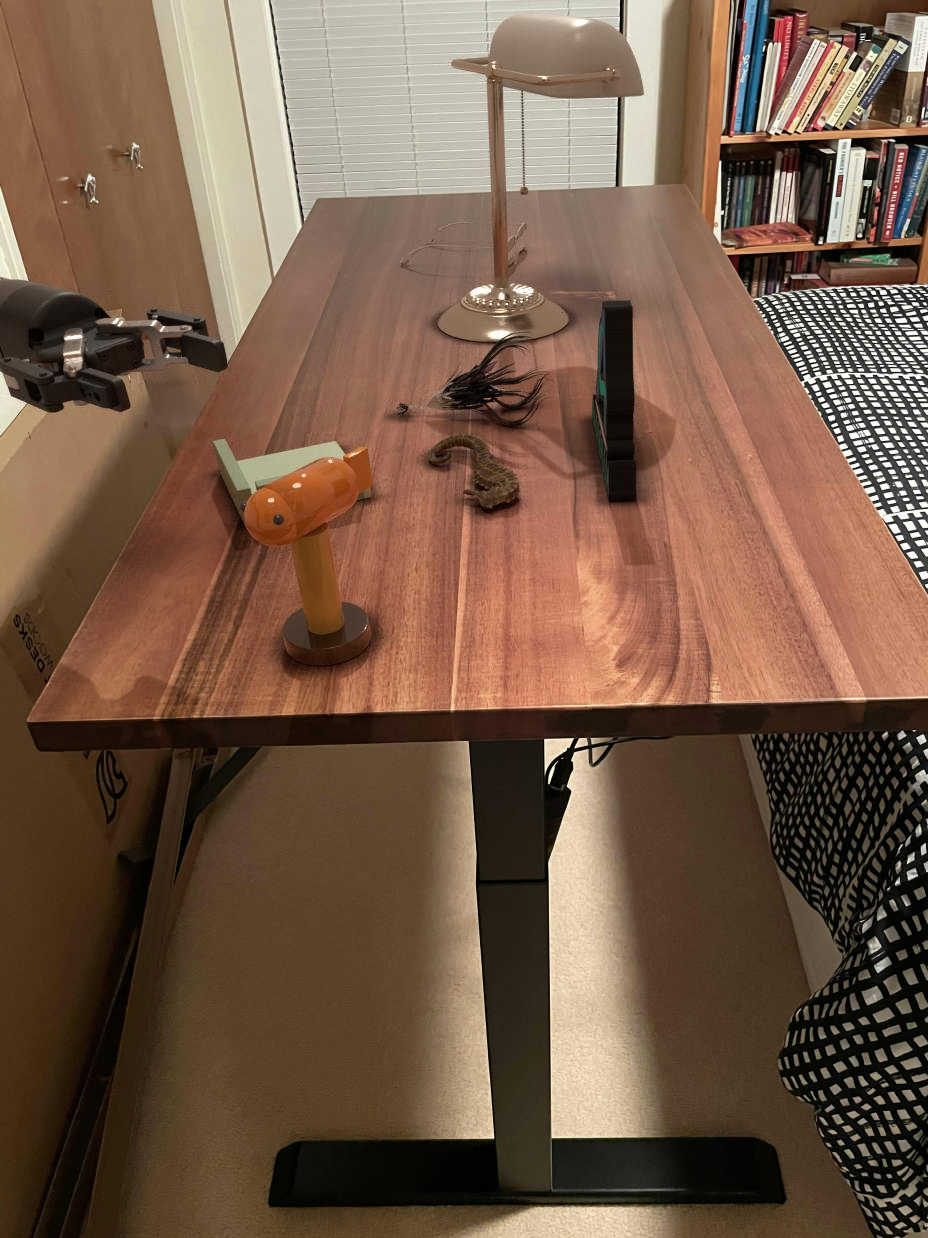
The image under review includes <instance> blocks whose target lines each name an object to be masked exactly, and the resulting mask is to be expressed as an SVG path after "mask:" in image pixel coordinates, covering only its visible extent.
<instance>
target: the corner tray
mask: <svg viewBox="0 0 928 1238" xmlns="http://www.w3.org/2000/svg"><path fill="white" fill-rule="evenodd" d="M212 444H213V448H214V449H213V450H214V452H215V457H216V461H217V466H218V469H219V474H220V476H221V478H222V480H223V482H224V484H225V487H226V489H227V491H228V494H229V495H230V497H231V499H232V501H233V504H234V506H235V508H236V510H237V512H238V514H239V516H240V519H241V521H242V523H243V525H244V526H245V523H244V512H242V511H241V510H240V508H239V506H240V504H241V503H242V502H247V501H248V499H249V498H250V496H251V495H252V494H253V493H254V492H256V491H257V490H259V489H261V488H263V487H265V486H267V485H268V484H270V483H272V482H274V481H276V480H278V479H280V478H282V477H284V476H286V475H288V474H290V473H292V472H294V471H296V470H298V469H300V468H302V467H304V466H305V465H307V464H309V463H311V462H313V461H315V460H318V459H320V458H324V457H334V458H339V459H341V460H343V456H344V455H346V454H347V453H345V452H344V451H343V449H342V448H341V446H340V445H339V444H338V442H337V441H336V440H334V441H328V442H323V443H318V444H314V445H309V446H304V447H299V448H294V449H290V450H285V451H280V452H274V453H269V454H265V455H264V454H263V455H260V456H255V457H250V458H245V459H240V460H237V459H236V457H235V455H234V453H233V451H232V450H231V448H230V445H229V443H228V442H227V439H226V438H221V439H216V440H212ZM371 488H372V487H370V488H368V489H366V490H365V491H363V492H361V493H359V494H358V497H357V500H356V501H360V500H365V499H370V498H372V489H371Z"/></svg>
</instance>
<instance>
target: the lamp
mask: <svg viewBox="0 0 928 1238" xmlns="http://www.w3.org/2000/svg"><path fill="white" fill-rule="evenodd" d="M493 33H494V34H493V35H492V39H491V41H490V48H489V52H488V53H489V54H488V55H486V56H476V57H475V56H474V57H463V58H455V59H452V60H451V62H450V64H451V67H452V68H453V69H455V70H456V69H457V70H460V71H466V72H470V73H475V74H478V75H479V74H480V75H485V77H486V96H487V97H486V99H487V100H486V101H487V126H488V127H487V128H488V152H489V154H488V155H489V176H490V177H489V178H490V199H491V200H490V201H491V223H492V224H491V226H492V247H493V248H492V249H493V250H492V252H493V253H492V254H493V275H494V276H493V278H494V284H493V283H488V284H486V285H480V286H475V287H474V288H473V289H470V290H469V291H468V292H467V294H466V295H464V296H463V297H462V298H461V299H460V301H457V302H455V303H454V304H452V305H451V306H449V307H448V308H447V309H445V311H444V312H443V313H442V314H441V315H440V316H439V317H438V319H437V320H436V321H437V324H436V325H437V327H438V329H439V330H440V331H441V332H443V333H444V334H446V335H447V336H450V337H453V338H456V339H461V340H465V341H469V342H478V343H479V342H480V343H481V342H482V343H497V342H498V341H499V340H500V339H502V338H503V337H504V336H506V335H508V334H511V333H514V332H519V331H528V333H517V334H513V335H510V336H508V337H506V338H505V339H507V338H510V337H513V336H528V337H531V338H528V337H524V338H517V339H512V340H509V341H513V340H514V341H522V342H524V340H525V341H528V340H529V341H531V340H534V339H535V340H536V339H539V338H542V337H547V336H550V335H553V334H555V333H556V332H559V331H561V330H562V329H564V328H565V327H566V326H567V325H568V323H569V322H570V316H569V314H568V313H567V312H566V310H565V309H564V308H563V307H561V305H559V304H558V305H557V303H556V302H555V301H553V300H551V299H550V298H547V297H544V295H543V294H542V293H540V292H539V291H538V290H536V289H535V288H534V287H532V286H530V285H527V284H525V285H524V284H523V283H516V282H511V283H510V271H509V267H510V265H508V239H509V237H508V236H509V235H508V225H507V224H508V209H507V208H508V205H507V175H506V173H507V171H506V170H507V169H506V141H505V140H506V139H505V113H504V111H505V109H504V107H505V105H504V88H508V89H511V90H516V91H520V92H521V93H520V95H521V96H520V101H521V103H520V104H521V106H520V107H521V109H520V111H521V112H520V113H521V116H520V117H521V119H520V120H521V151H522V152H521V154H522V155H521V156H522V157H521V158H522V161H521V162H522V165H521V166H522V186H521V187H520V189H519V193H520V195H522V196H527V195H528V194H529V188H528V187H527V186H526V178H525V177H526V166H525V165H526V163H525V162H526V161H525V159H526V157H525V156H526V155H525V130H524V129H525V124H524V123H525V113H524V110H525V109H524V104H525V103H524V92H525V93H529V94H535V95H540V96H543V97H547V98H554V99H567V100H568V99H571V100H572V99H575V100H576V99H577V100H578V99H579V100H580V99H581V100H583V99H607V98H608V99H609V98H632V97H633V98H634V97H642V96H644V95H645V89H644V83H643V78H642V75H641V69H640V68H639V64H638V62H637V58H636V56H635V55H634V52H633V50H632V47H631V45H630V44H629V41H628V40H627V39H626V38H625V36H624V35H623V34H622V33H621V32H620V31H619V30H618V29H617V28H615V26H613V25H611V24H609V23H607V22H604V21H602V20H598V19H595V18H591V17H583V16H574V15H573V16H572V15H564V14H563V15H562V14H561V15H560V14H551V13H541V12H540V13H539V12H538V13H537V12H525V13H524V12H523V13H519V14H515V15H512V16H509V17H507V18H506V19H504V20H502V21H501V23H500V24H499V25H498V27H497V28H496V30H495V32H493ZM562 312H563V313H562ZM532 332H533V333H532ZM530 333H531V334H532V335H533V336H532V335H531V334H530ZM534 333H535V334H534ZM525 338H527V339H525ZM532 338H533V339H532ZM505 339H504V340H505ZM502 341H503V340H502ZM502 341H501V342H502ZM509 341H508V342H509Z"/></svg>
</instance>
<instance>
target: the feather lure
mask: <svg viewBox="0 0 928 1238" xmlns="http://www.w3.org/2000/svg"><path fill="white" fill-rule="evenodd" d="M517 333H528V331H519V332H514V333H511V334H508V335H506V336H504V337H503V338H502V339H500V340H499V341H498V342H495V344H493V346H492V347H491V348H490V350H489V351H488V352H487V354H485V356H484V357H483V359H482V360H481V361H480V363H479V364H475V365H474V366H473V367H472V368H471V369H470V370H469V371H467V372H464V373H462V372H463V371H464V369H462V370H460V371H459V370H458V368H456V369H455V370H454V372H453V373H452V374H451V376H450V377H449V378H448V379H447V381H446V382H445V383H444V384H443V385H442V386H440V388H439V389H438V390H437V391H435V393H434V394H433V395H432V396H431V397H430V399H429V400H428V401H427V403H426V404H425V406H420V410H422V409H427V408H431V409H433V410H439V411H451V412H453V411H472V412H473V413H478V414H481V415H483V413H487V412H490V413H491V414H492V415H493V417H494V418H495V419H496V420H497V421H498V422H500V423H501V424H503V425H505V426H507V427H512V428H513V427H519V426H522V425H524V424H526V423H527V422H528V421H529V420H531V418H532V417H533V416H534V415H535V413H536V411H537V410H538V408H539V406H540V405H541V404H542V402H544V401H545V400H546V399H549V398H550V396H546V397H544V396H545V394H544V393H546V392H549V391H551V389H547V390H545V391H542V388H543V387H544V385H545V383H548V381H549V378H548V377H547V376H550V373H547V371H546V370H545V371H544V370H541V369H543V366H540V367H533V368H530V369H529V370H528V372H525V373H522V374H521V375H518V376H516V377H506V376H504V375H507V374H510V373H511V374H512V373H514V372H515V373H516V372H517V371H518V370H516V369H515V370H513V369H509V367H511V366H514V365H516V362H513V363H510V364H508V365H505V366H503V367H501V368H500V369H497V368H496V367H498V368H499V366H498V365H497V363H498V362H499V360H498V359H497V360H494V359H496V358H497V357H498V356H499V355H500V354H501V353H502V352H504V351H505V350H507V349H510V348H513V349H515V350H517V351H519V352H522V353H523V355H524V356H526V353H525V351H524V350H526V351H528V352H531V348H530V347H529V346H530V344H531V342H530V340H523V341H514V340H513V341H509V340H512V339H517V338H524V337H528V336H513V337H510V338H507V339H505V338H506V337H508V336H510V335H513V334H517ZM532 333H533V332H532ZM530 334H531V333H530ZM534 334H535V333H534ZM531 335H532V334H531ZM532 336H533V335H532ZM528 338H531V337H528ZM504 339H505V340H504ZM525 339H527V338H525ZM502 340H503V341H502ZM531 340H534V341H536V338H535V339H533V338H532V339H531ZM501 341H502V342H501ZM508 341H509V342H508ZM525 341H526V342H525ZM536 342H537V341H536ZM511 343H517V344H511ZM529 343H530V344H529ZM506 344H508V345H506ZM519 344H522V345H519ZM504 345H505V346H504ZM523 345H524V346H523ZM525 346H527V348H528V349H527V348H526V347H525ZM522 348H523V349H524V350H523V349H522ZM493 360H494V361H493ZM460 365H461V363H458V367H460ZM494 368H496V369H497V370H496V369H494ZM493 369H494V371H492V370H493ZM539 370H541V371H539ZM458 371H459V372H458ZM535 371H536V372H535ZM457 372H458V374H457V375H456V377H454V376H455V374H456V373H457ZM461 373H462V374H461ZM539 373H540V374H539ZM553 375H554V376H556V373H555V374H554V373H553ZM536 377H537V378H536ZM534 378H536V382H535V383H534V386H533V387H532V390H531V391H529V392H528V391H524V390H522V389H505V388H499V387H497V386H513V385H518V384H522V383H524V382H527V381H530V380H532V379H534ZM545 378H546V379H545ZM451 379H452V380H451ZM543 379H545V381H544V382H543ZM552 381H553V382H554V380H553V379H551V382H552ZM548 384H549V383H548ZM541 391H542V392H541ZM520 393H525V394H526V395H527V396H526V395H524V394H520ZM542 394H543V395H542ZM501 397H511V398H512V397H514V398H515V397H517V398H518V399H520V398H521V400H520V401H519V402H517V403H514V404H508V403H505V402H503V401H502V400H501V399H499V398H501ZM542 397H544V398H542ZM541 398H542V399H541ZM537 401H539V402H537ZM495 403H497V404H498V405H499V406H501V407H503V408H504V409H507V410H517V409H521V408H523V407H524V406H526V405H527V404H529V403H530V404H529V407H528V408H527V410H526V413H525V415H524V416H522V417H521V418H518V419H516V420H512V421H510V420H506V419H504V418H503V417H501V416H500V415H499V414H498V413H497V412H495V410H494V409H493V408H492V407H491V406H490V405H489V404H495ZM536 403H537V404H536ZM535 406H536V407H535ZM483 407H486V408H487V409H480V408H483ZM494 407H495V408H497V406H495V405H494ZM414 408H415V410H418V409H419V407H418V403H417V401H415V403H414V404H413V405H412V404H410V405H408V404H407V403H402V402H399V404H398V406H397V407H396V410H397V411H398V412H397V415H398V416H403V415H405V413H406V412H408V411H410V412H411V411H412V412H413V410H414ZM533 409H534V410H533ZM482 412H483V413H482ZM530 414H531V415H530Z"/></svg>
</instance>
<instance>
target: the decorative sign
mask: <svg viewBox="0 0 928 1238" xmlns="http://www.w3.org/2000/svg"><path fill="white" fill-rule="evenodd" d="M633 308H634V307H633V304H632V301H631V300H630V299H627V300H603V301H602V302H601V314H600V315H601V316H600V318H599V322H598V323H599V324H598V334H597V335H598V336H597V371H596V382H595V394H592V403H591V424H592V428H593V429H592V430H593V433H594V438H595V443H596V447H597V453H598V459H599V463H600V465H601V471H602V476H603V481H604V486H605V487H604V488H605V492H606V493H607V500H608V501H620V500H621V501H623V500H626V501H627V500H637V499H636V498H637V460H636V459H635V451H636V450H635V439H634V438H635V433H634V432H635V427H634V425H635V424H634V422H635V421H634V417H635V415H634V414H635V402H636V401H635V397H636V396H635V378H634V309H633Z"/></svg>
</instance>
